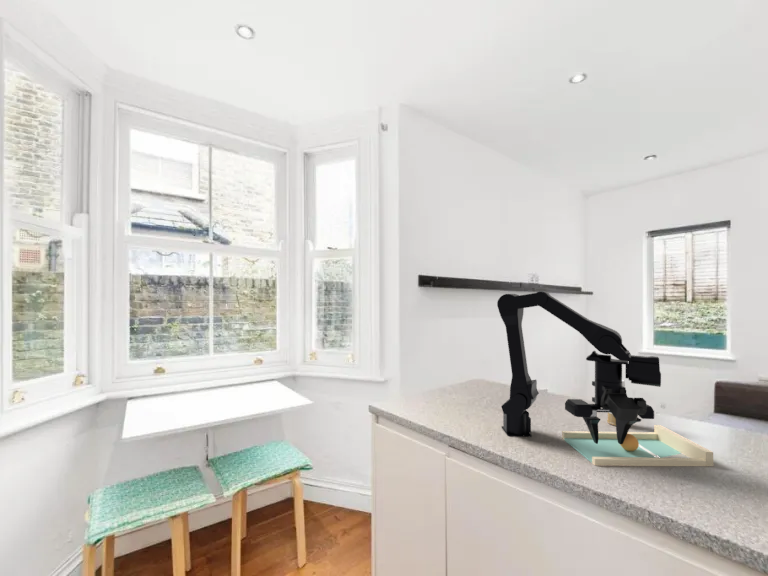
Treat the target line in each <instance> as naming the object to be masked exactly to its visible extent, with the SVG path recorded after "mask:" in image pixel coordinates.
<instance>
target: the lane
mask: <svg viewBox="0 0 768 576" xmlns="http://www.w3.org/2000/svg"><path fill="white" fill-rule="evenodd" d="M653 428H654V429H653V431H651V432H650V431H647V432H645V431H628V433H627V434H631V435H633V436H635V437H636V439H637V440H638V443H639V446H638V448H637V449H636V450H635V451H627V450H625V449H624V448H622V446H621V445H620V444H619V443H618V440H617V432H616V431H598V444H596V443H595V442H594V441H593V438H592V436H591V434H590V431H589V430H588V431H586V430H585V431H583V430H582V431H581V430H580V431H579V430H576V431H575V430H574V431H573V430H572V431H571V430H570V431H569V430H562V431H561V439H563V440H564V442H566V443H567V444H568V445H569V446H571V447H572V448H573V449H575V451H577V452H578V453H579V454H580V455H581V456H582V457H584V458H585V459H587V461H589V462H590V463H591V464H592V465H594V466H598V467H599V466H602V467H603V466H604V467H608V466H610V467H611V466H612V467H619V466H624V467H627V466H628V467H629V466H630V467H714V451H712V450H710V449H708V448H707V447H704V446H702V445H700V444H699V443H696V442H694V441H693V440H691V439H689V438H686V437H685V436H682V435H681V434H679V433H677V432H675V431H673V430H671V429H669V428H667V427H665V426H663V425H661V424H654V425H653ZM563 440H562V441H563ZM680 454H682V455H684V456H686V457H672V456H677V455H680ZM657 455H658V456H659V457H660V458H659V457H657ZM654 456H656V457H654Z"/></svg>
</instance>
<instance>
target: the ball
mask: <svg viewBox="0 0 768 576" xmlns="http://www.w3.org/2000/svg"><path fill="white" fill-rule="evenodd" d="M620 445H621V446H622V448H624V449H625V450H627V451H635V450H636V449H637V448H638V446H639V443H638V440H637V439H636V437H635V436H633V435H631V434H627V435H626V437H625V439H624V442H623V444H620Z"/></svg>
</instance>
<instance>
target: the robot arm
mask: <svg viewBox="0 0 768 576" xmlns="http://www.w3.org/2000/svg"><path fill="white" fill-rule="evenodd" d="M496 303H497V309H498V312H499V315H500V318H501V321H502V322H503V324H504V327H505V331H506V339H507V347H508V353H509V362H510V367H511V380H510V386H509V387H510V389H509V399H508V400H506V402H504V403H503V404H502V405H501V406H500V407H501V411H502V413H503V417H502V418H503V421H502V423H503V425H502V426H501V429H502V431H503V432H504V433H505V435H507V437H517V438H518V437H519V438H520V437H523V438H526V437H527V438H532V434H531V432H532V418H531V417H530V413H529V411H528V409H530V408H531V406H532V405H533V404H534V403H535V402H536V400H537V396H538V395H539V394H540V393H539V391H538V388H537V384H538V383H537V381H538V380H537V379H532V378H531V376H530V375H529V374H530V373H529V368H528V360H527V356H526V355H527V354H526V349H525V340H524V333H523V328H522V327H523V325H522V324H523V318H524V309H527V308H532V307H538V306H539V307H540V308H541V309H543V310H545V311H547V312H548V313H550V314H551V315H553V316H554V317H556V318H557V319H558V320H560V321H562V322H563V323H565V324H566V325H568V326H569V327H571V328H572V329H574V330H576V331H577V332H578V333H579V334H580V335H581V336H582V337H583V338H585V340H587V342H588V343H589V344H590V345H592V346H593V347H594V348H595V349H596V350H597V351H598V352H599V353H600V354H599V353H598V352H597V351H596V350H593V351H592V352H591V353H590V354H589V355H587V356H586V358H585V360H586V361H589V362H594V380H593V381H591V385H592V386H593V387H594V397H593V396H591V402H593V403H588V402H586V401H585V400H583V399H580V398H579V399H578V398H577V399H575V398H573V399H572V398H568V399H567V400H566V401H565V402H564V410H565V411H567V412H568V413H570V414H571V415H573V416H574V417H577V418H582V419H583V420H584V422H585V424H586V426H587V429H588V431H590V434H591V436H592V438H593V441H594V442H595V443H596V444H598V432H599V423H600V421H601V418H599V417H598V416H597V415H598V413H608V412H611V413H612V414H613V416H614V417H615V418H616V426H615V428H616V430H615V432H617V440H618V443H619V444H623V442H624V439H625V437H626V435H627V433H628V432H630V430H631V427H632V426H633V425H634V424H636V423H640V422H641V421H642V419H644V420H655V410H654V408H653V407H652V406H651V405H649V404H647V401H646V400H645V399H644V398H643V397H629V396H628V394H627V389H626V387H623V386H622V380H623V365H625V379H628V381H630V383H631V384H636V385H643V386H651V387H658V388H659V387H661V385H662V373H661V371H660V369H661V367H660V366H661V365H660V357H659V356H654V355H653V356H652V355H651V356H645V355H644V356H643V355H632V354H631V352H630V350H628V349H627V347H626V346H625V345H624V344H623V338H622V335H621V334H620V333H619V332H618V331H617V330H615V329H612V328H610V327H608V326H605V325H603V324H601V323H598V322H596V321H593V320H590V319H589V318H587V317H585V316H584V315H582V314H580V313H579V312H577V311H576V310H575V309H573V308H571V307H569V306H568V305H566V304H565V303H563V302H562V301H560V300H558V299H557V298H555V297H554V296H552V295H551V294H550V293H549V292H547V291H540V290H539V291H536V292H534V293H527V294H521V295H519V294H516V293H505V294H503V295H501V296H500V297H499V298H498V300H497V302H496ZM601 353H602V354H601ZM612 356H613V357H614V358H612Z"/></svg>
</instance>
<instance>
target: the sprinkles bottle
mask: <svg viewBox="0 0 768 576" xmlns="http://www.w3.org/2000/svg"><path fill="white" fill-rule="evenodd" d="M622 386H623V387H625V386H626V383H625V380H624V379H622ZM625 388H626V387H625ZM606 422H607V423H608V424H609V425H612V426H614V427H616V418H615V417H614V416H613V414H612V413H611V412H607V419H606Z"/></svg>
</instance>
